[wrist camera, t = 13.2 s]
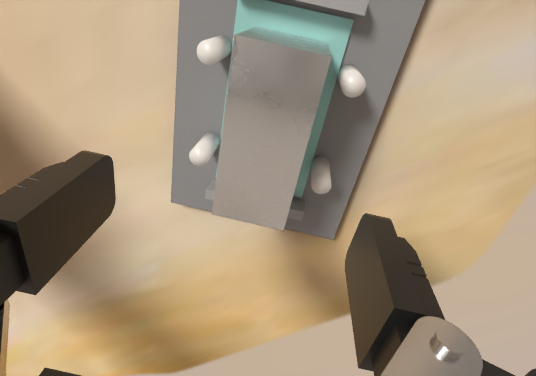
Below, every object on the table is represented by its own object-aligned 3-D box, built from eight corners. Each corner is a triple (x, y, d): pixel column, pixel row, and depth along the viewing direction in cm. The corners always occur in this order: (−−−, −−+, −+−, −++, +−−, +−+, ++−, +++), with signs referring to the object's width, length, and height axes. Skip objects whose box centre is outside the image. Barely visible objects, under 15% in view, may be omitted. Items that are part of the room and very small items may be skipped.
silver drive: (235, 166, 23) (211, 214, 17) (257, 26, 18) (234, 34, 13) (290, 179, 23) (283, 231, 17) (326, 42, 18) (331, 56, 13)
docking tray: (175, 195, 26) (154, 224, 22) (190, -89, 17) (158, -114, 13) (332, 232, 26) (335, 267, 22) (433, -35, 17) (464, -46, 13)
